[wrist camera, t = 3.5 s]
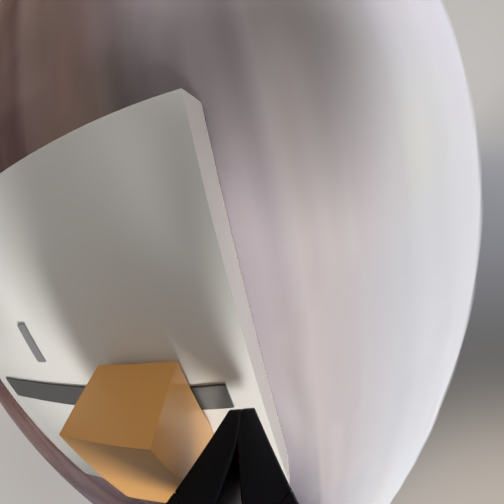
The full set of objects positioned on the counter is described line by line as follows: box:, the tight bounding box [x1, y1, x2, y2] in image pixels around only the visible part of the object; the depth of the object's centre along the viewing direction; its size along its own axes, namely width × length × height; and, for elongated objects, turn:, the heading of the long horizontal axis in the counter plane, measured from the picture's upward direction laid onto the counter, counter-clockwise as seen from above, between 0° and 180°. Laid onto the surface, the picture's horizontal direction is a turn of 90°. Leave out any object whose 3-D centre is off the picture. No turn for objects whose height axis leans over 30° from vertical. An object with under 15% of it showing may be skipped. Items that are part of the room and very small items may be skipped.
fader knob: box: [59, 361, 214, 503], centre depth 7 cm, size 4×3×3 cm
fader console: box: [0, 88, 290, 485], centre depth 11 cm, size 18×14×3 cm
